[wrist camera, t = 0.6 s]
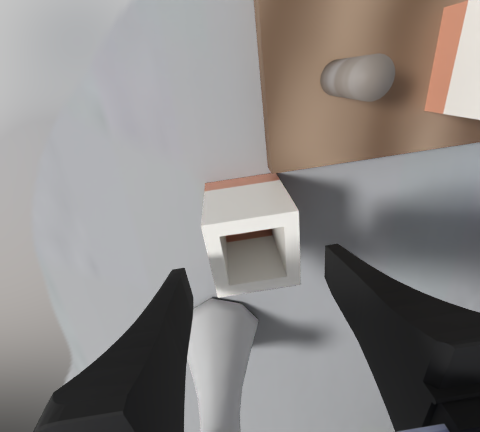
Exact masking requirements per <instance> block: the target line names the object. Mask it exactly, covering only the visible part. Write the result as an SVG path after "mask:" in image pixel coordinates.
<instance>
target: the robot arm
mask: <svg viewBox="0 0 480 432" xmlns="http://www.w3.org/2000/svg"><path fill="white" fill-rule="evenodd" d="M325 279H326V281H327V284H328V286H329V289H330V291H331V294H332V296H333V297H334V299H335V301H336V303H337V304H338V306H339V308H340V310H341V311H342V313H343V315H344V317H345V318H346V320H347V322H348V324H349V325H350V327H351V329H352V331H353V332H354V334H355V336H356V338H357V340H358V342H359V344H360V346H361V349H362V351H363V353H364V355H365V358H366V360H367V362H368V364H369V367H370V369H371V371H372V374H373V376H374V379H375V381H376V383H377V386H378V388H379V391H380V393H381V396H382V398H383V401H384V403H385V406H386V408H387V411H388V414H389V416H390V419H391V422H392V424H393V427H394V429H395V432H480V313H479V312H475V311H472V310H469V309H466V308H463V307H460V306H456V305H453V304H451V303H448V302H445V301H442V300H440V299H437V298H434V297H432V296H430V295H427V294H425V293H422V292H420V291H418V290H415V289H413V288H411V287H409V286H407V285H405V284H403V283H401V282H398V281H397V280H395V279H393V278H391V277H389V276H387V275H386V274H384V273H382V272H380V271H379V270H377V269H375V268H374V267H372V266H370V265H369V264H367V263H366V262H364V261H362V260H361V259H359V258H358V257H356V256H355V255H353V254H352V253H350V252H349V251H348V250H346V249H345V248H343V247H342V246H340V245H338V244H333V245H327V246H325ZM192 320H193V295H192V291H191V288H190V285H189V281H188V278H187V275H186V271H185V268H180V269H174V270H172V271H171V272H170V274H169V275H168V277H167V279H166V280H165V282H164V283H163V285H162V286H161V288H160V289H159V291H158V292H157V294H156V295H155V296H154V298H153V299H152V301H151V302H150V303H149V305H148V306H147V307H146V309H145V310H144V311H143V313H142V314H141V315H140V316H139V318H138V319H137V320H136V321H135V322H134V324H133V325H132V326H131V327H130V328H129V329H128V330H127V331H126V332H125V333H124V334H123V335H122V336H121V337H120V338H119V339H118V340H117V341H116V342H115V343H114V344H113V345H112V346H111V347H110V348H109V349H108V350H107V351H106V352H105V353H104V354H102V355H101V356H100V357H99V358H98V359H97V360H96V361H94V362H93V363H92V364H91V365H89V366H88V367H87V368H86V369H85V370H83V371H82V372H81V373H80V374H78V375H77V376H76V377H74V378H73V379H72V380H70V381H69V382H67V383H66V384H65V385H63V386H62V387H61V388H59V389H58V390H57V391H55V392H54V393H53V395H52V396H51V398H50V400H49V402H48V404H47V405H46V407H45V409H44V411H43V413H42V415H41V417H40V419H39V421H38V423H37V425H36V427H35V429H34V431H33V432H184V400H185V376H186V363H187V355H188V348H189V341H190V334H191V327H192Z"/></svg>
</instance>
